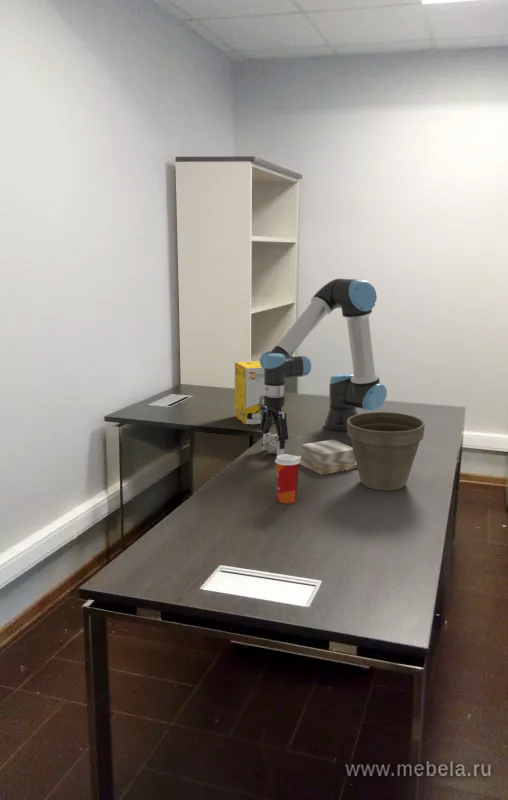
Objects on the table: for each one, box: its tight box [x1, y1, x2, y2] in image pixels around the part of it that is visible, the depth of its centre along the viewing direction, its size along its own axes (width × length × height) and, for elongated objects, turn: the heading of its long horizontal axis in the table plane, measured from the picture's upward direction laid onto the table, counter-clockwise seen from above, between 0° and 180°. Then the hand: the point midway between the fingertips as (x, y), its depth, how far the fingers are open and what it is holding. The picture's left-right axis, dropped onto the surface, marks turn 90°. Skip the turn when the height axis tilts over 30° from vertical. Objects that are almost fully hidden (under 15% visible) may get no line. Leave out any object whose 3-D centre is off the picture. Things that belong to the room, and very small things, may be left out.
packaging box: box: [234, 360, 274, 425], centre depth 315 cm, size 16×16×25 cm
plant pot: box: [346, 411, 426, 492], centre depth 232 cm, size 25×25×22 cm
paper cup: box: [274, 453, 300, 505], centre depth 217 cm, size 8×8×14 cm
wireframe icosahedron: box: [260, 433, 287, 456], centre depth 266 cm, size 9×8×10 cm
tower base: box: [297, 439, 358, 476], centre depth 254 cm, size 18×18×6 cm
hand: (273, 453), depth 266 cm, fingers closed on wireframe icosahedron, 10 cm apart
